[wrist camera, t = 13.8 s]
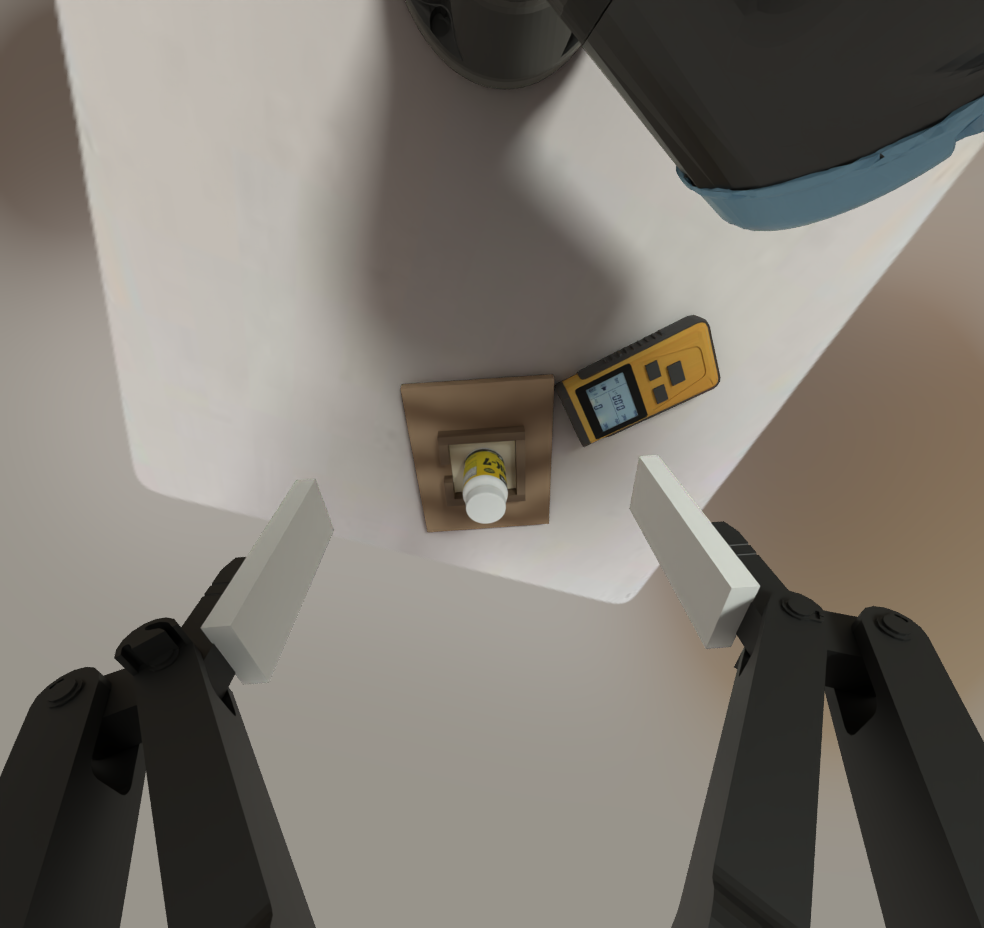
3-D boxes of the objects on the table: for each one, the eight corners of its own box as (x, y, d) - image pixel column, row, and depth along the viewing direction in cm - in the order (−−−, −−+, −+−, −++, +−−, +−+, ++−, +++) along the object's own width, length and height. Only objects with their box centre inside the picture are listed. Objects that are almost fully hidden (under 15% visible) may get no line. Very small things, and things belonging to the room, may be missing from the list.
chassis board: (401, 384, 41) (398, 394, 39) (552, 374, 41) (557, 383, 39) (428, 526, 52) (426, 540, 50) (547, 517, 52) (550, 531, 50)
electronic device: (709, 376, 43) (726, 388, 40) (578, 438, 46) (586, 453, 44) (693, 306, 39) (711, 314, 36) (551, 380, 42) (557, 392, 39)
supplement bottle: (512, 462, 46) (520, 507, 39) (486, 486, 47) (488, 534, 40) (481, 438, 44) (483, 481, 37) (455, 465, 46) (452, 511, 38)
